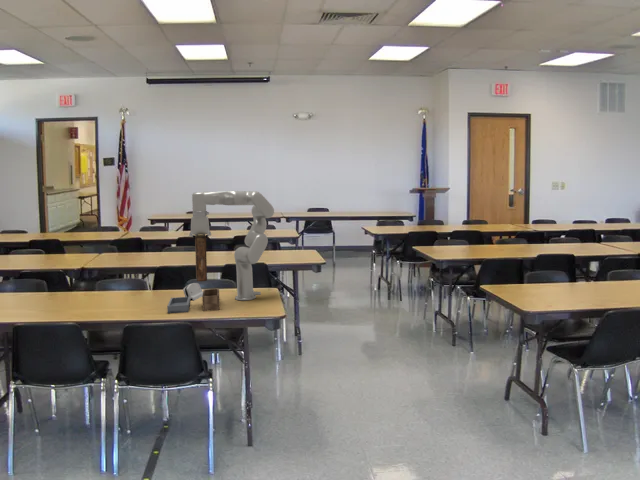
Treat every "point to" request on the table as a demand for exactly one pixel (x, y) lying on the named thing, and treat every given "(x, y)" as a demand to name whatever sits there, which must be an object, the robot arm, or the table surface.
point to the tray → (178, 305)
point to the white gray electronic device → (193, 291)
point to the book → (201, 258)
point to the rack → (211, 299)
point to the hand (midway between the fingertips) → (200, 246)
